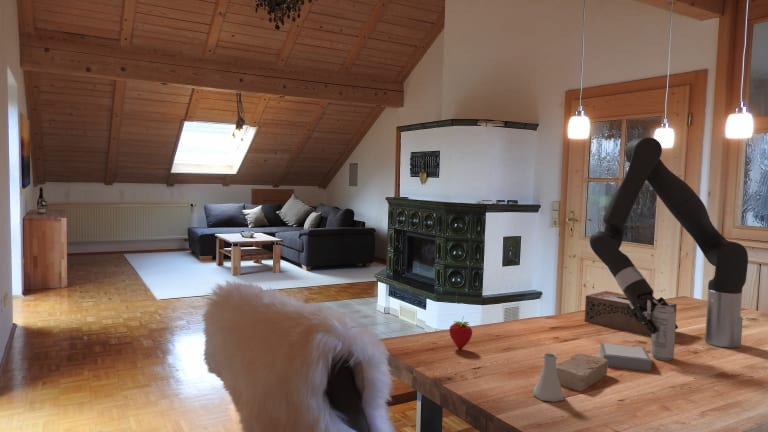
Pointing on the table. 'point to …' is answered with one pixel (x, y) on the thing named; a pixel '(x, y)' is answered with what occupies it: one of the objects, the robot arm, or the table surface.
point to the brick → (581, 371)
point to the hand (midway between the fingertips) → (665, 331)
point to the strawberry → (460, 333)
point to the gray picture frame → (626, 356)
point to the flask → (549, 381)
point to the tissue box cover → (615, 312)
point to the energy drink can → (663, 333)
